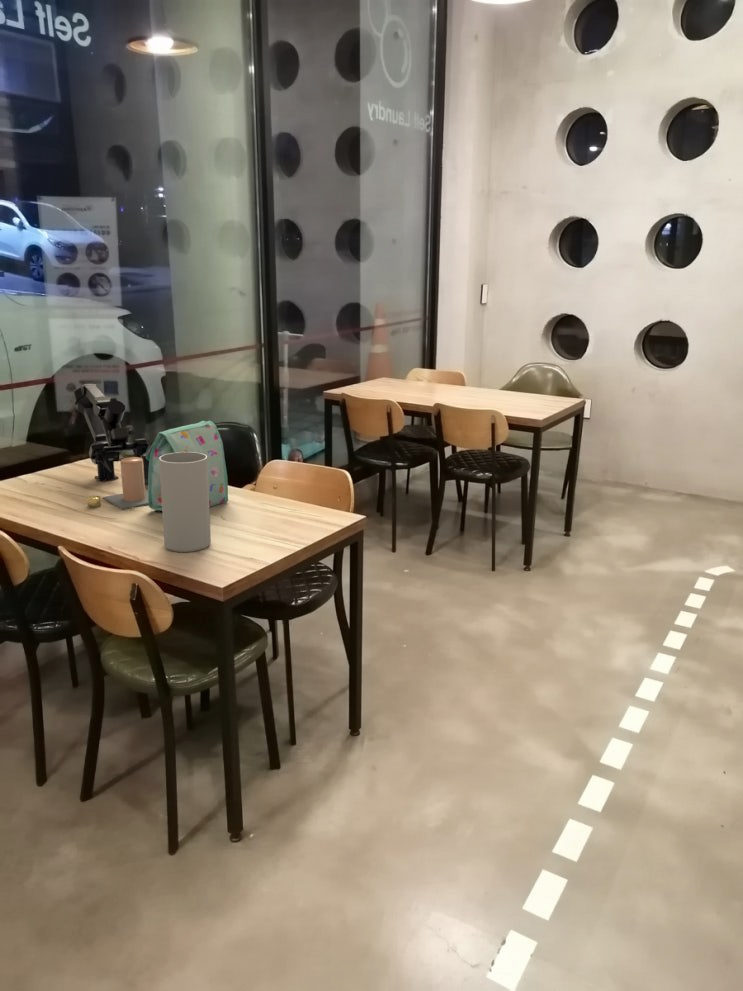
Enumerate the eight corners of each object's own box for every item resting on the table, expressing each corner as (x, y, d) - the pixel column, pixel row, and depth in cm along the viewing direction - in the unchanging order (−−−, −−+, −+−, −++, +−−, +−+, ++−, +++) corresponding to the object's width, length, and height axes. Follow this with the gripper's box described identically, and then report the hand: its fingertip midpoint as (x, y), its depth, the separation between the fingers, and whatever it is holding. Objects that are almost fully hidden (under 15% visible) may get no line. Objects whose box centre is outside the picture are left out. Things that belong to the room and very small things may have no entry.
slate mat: (103, 498, 253) (103, 496, 253) (146, 491, 263) (146, 489, 262) (121, 509, 242) (121, 507, 242) (166, 501, 252) (166, 499, 251)
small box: (160, 485, 269) (158, 456, 266) (142, 484, 270) (140, 455, 267) (172, 478, 279) (170, 449, 276) (155, 477, 280) (153, 448, 277)
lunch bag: (198, 494, 260) (194, 415, 253) (233, 503, 252) (230, 421, 244) (143, 510, 242) (138, 426, 234) (180, 520, 233) (175, 433, 226)
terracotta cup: (119, 499, 251) (116, 460, 247) (134, 494, 257) (131, 456, 253) (134, 502, 248) (131, 463, 244) (149, 497, 254) (147, 458, 250)
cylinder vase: (192, 534, 221) (188, 449, 214) (220, 544, 214) (216, 457, 207) (155, 545, 212) (149, 457, 205) (183, 556, 204) (178, 465, 197)
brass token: (85, 506, 245) (84, 497, 245) (98, 504, 248) (97, 495, 247) (90, 509, 242) (89, 500, 242) (102, 507, 245) (102, 497, 244)
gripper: (88, 420, 250) (100, 460, 245) (144, 415, 261) (157, 453, 255) (84, 439, 259) (95, 478, 253) (139, 433, 269) (151, 471, 264)
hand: (125, 469), depth 256 cm, fingers open, 9 cm apart
